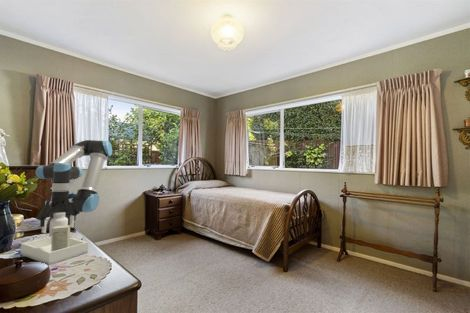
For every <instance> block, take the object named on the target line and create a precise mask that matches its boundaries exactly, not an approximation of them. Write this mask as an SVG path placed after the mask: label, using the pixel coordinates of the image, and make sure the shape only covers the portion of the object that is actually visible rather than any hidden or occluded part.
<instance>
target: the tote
mask: <svg viewBox="0 0 470 313" xmlns="http://www.w3.org/2000/svg"><path fill="white" fill-rule="evenodd" d="M51 246H52V236H51V237H49V236H47V237H44V238H38V239H34V240H29V241H25V242H21V243H20V253H19V254H20V255H21V256H24V257H27V258H28V259H31V260H34V261H36V262H40V263H42V262H43V263H42V264H44V263H46V264H45V265H47V266H51V265H53V264H54V265H55V264H57V263H60V262H63V261H66V260H70V259H73V258H75V257H78V256H81V255H85V254H88V253H89V252H88V251H89V242H88V241H84V240H80V239H77V238H73V237H70V247H67V248H63V249H60V250H56V251H52V252H51Z"/></svg>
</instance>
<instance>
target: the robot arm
mask: <svg viewBox="0 0 470 313" xmlns="http://www.w3.org/2000/svg"><path fill="white" fill-rule="evenodd" d="M112 155H113V146H112V143H111V142H110V141H109V140H93V139H87V140H86V139H85V140H82V141H80V142H76V143H75V144H73V145H71V146H70V148H69V149H68V150H67V151H66V152H64V153H63V154H61V155H60V156H58V157H57V158H56V159H55V160H53V161H51V162H50V163H49V164H47V165H40V166H37V168H36V169H35V176H36V177H37V178H38V179H44V180H52V192H51V196H50V200H45V201H44V203H43V206H42V207H41V209H40V211H39V212H38V214H37V215H36V217H35V219H36V220H38V221H39V222H40V223H39V224H40V225H39V227H41V233H42V234H47V232H49V230H50V220H51V219H52V218H54V216H53V214H54V213H57V212H65V217H66V218H68V225H70V230H72V229H74V228H75V227H76V218H77V216H78V215H79V214H80V213H92V212H94V211H95V210H96V209H97V208H98V205H99V202H100V195H98V192H97V186H98V184H99V180H100V176H101V173H102V169H103V166H104V163H105V161H107V160H108V158H109V157H111V156H112ZM85 156H86V157H88V156H89V158H90V161H89V162H88V165H87V169H86V173H85V176H84V178H83V181H82V185H81V188H79V189H77V191H76V193H75V192H74V191H69V190H70V181H71V180H76V179H80V178H81V177H82V176H83V173H84V172H83V169H82V168H81V167H79V166H71V164H72V163H73V162H75V161H76V160H77V159H80V158H82V157H85ZM48 217H49V218H48ZM47 218H48V221H47V220H46V219H47Z"/></svg>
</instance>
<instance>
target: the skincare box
mask: <svg viewBox="0 0 470 313" xmlns="http://www.w3.org/2000/svg"><path fill="white" fill-rule="evenodd" d="M70 238H71V229H70V225H66V226H55V227H53V228H52V246H51V252H52V251H56V250H60V249H63V248H67V247H70Z"/></svg>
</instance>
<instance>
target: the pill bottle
mask: <svg viewBox="0 0 470 313" xmlns="http://www.w3.org/2000/svg"><path fill="white" fill-rule="evenodd" d="M53 216H54V218H52V219H51V220H50V230H49V231H48V232H49V233H48V237H51V236H52V228H53V227H55V226H66V225H68V218H66V217H65V212H57V213H54V214H53Z"/></svg>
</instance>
